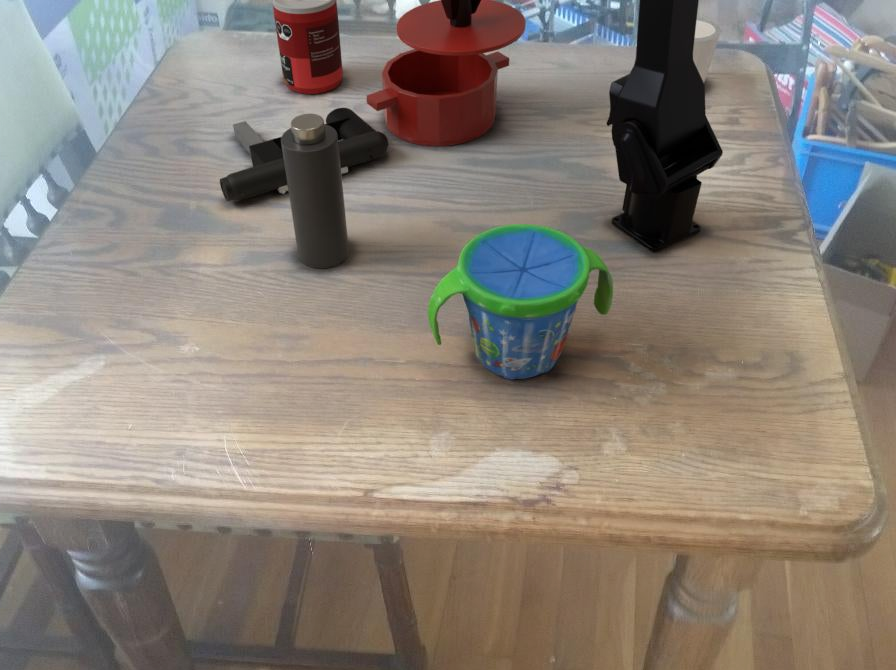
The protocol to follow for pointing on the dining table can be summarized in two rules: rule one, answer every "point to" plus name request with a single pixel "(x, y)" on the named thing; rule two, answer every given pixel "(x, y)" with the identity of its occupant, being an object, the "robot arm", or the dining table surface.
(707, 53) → the off-white short cylinder
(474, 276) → the snack cup
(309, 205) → the pepper mill
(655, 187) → the robot arm
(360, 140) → the door handle
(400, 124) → the pot
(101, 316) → the dining table surface
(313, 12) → the red can
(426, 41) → the lid
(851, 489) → the dining table surface
